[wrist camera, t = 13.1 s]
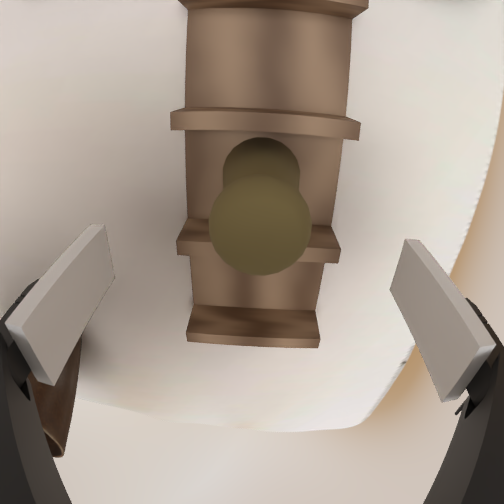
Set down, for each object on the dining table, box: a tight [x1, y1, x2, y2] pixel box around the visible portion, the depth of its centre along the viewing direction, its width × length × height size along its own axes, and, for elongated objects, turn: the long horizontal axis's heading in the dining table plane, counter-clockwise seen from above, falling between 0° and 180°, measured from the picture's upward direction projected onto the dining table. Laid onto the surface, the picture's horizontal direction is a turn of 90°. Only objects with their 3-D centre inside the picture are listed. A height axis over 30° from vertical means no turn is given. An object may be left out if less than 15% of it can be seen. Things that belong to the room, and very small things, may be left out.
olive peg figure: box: [209, 137, 312, 276], centre depth 19 cm, size 6×6×11 cm
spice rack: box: [170, 0, 369, 348], centre depth 23 cm, size 12×29×5 cm, turn 178°
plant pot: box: [28, 337, 81, 457], centre depth 29 cm, size 15×15×16 cm
